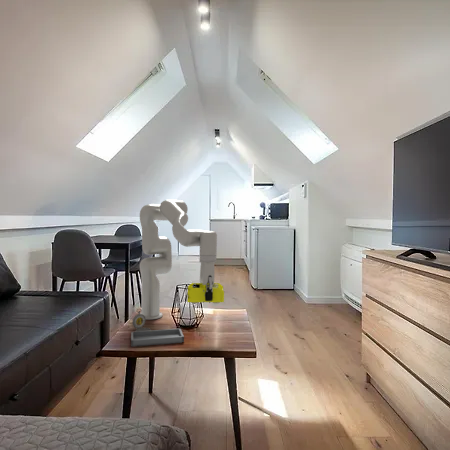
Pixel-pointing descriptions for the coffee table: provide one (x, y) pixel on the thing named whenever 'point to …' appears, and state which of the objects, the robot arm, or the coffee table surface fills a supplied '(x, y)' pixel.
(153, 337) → the tray
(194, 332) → the coffee table surface
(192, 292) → the yellow toy chassis
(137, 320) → the pocket watch
